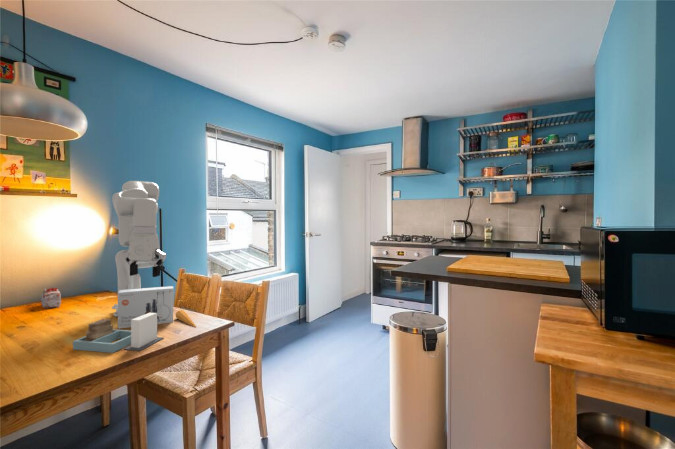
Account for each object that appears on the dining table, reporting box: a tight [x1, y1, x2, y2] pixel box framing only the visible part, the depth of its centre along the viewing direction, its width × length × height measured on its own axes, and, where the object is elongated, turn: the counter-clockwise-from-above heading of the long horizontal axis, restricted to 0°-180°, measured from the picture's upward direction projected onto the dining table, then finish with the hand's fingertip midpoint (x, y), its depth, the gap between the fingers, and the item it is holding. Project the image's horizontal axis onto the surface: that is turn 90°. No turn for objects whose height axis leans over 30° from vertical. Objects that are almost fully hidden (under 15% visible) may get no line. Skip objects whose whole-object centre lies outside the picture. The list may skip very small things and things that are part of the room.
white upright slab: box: [130, 313, 158, 348], centre depth 118 cm, size 3×9×10 cm, turn 171°
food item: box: [40, 287, 62, 309], centre depth 168 cm, size 14×8×10 cm, turn 46°
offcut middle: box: [85, 324, 114, 340], centre depth 119 cm, size 4×8×3 cm, turn 175°
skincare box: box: [117, 285, 174, 330], centre depth 141 cm, size 21×5×16 cm, turn 117°
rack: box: [72, 328, 131, 354], centre depth 118 cm, size 16×13×3 cm
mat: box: [123, 336, 164, 352], centre depth 118 cm, size 6×12×1 cm, turn 171°
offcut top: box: [88, 318, 112, 331], centre depth 119 cm, size 4×6×2 cm, turn 174°
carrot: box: [175, 309, 197, 328], centre depth 143 cm, size 20×4×4 cm, turn 47°
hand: (145, 275), depth 120 cm, fingers open, 9 cm apart
